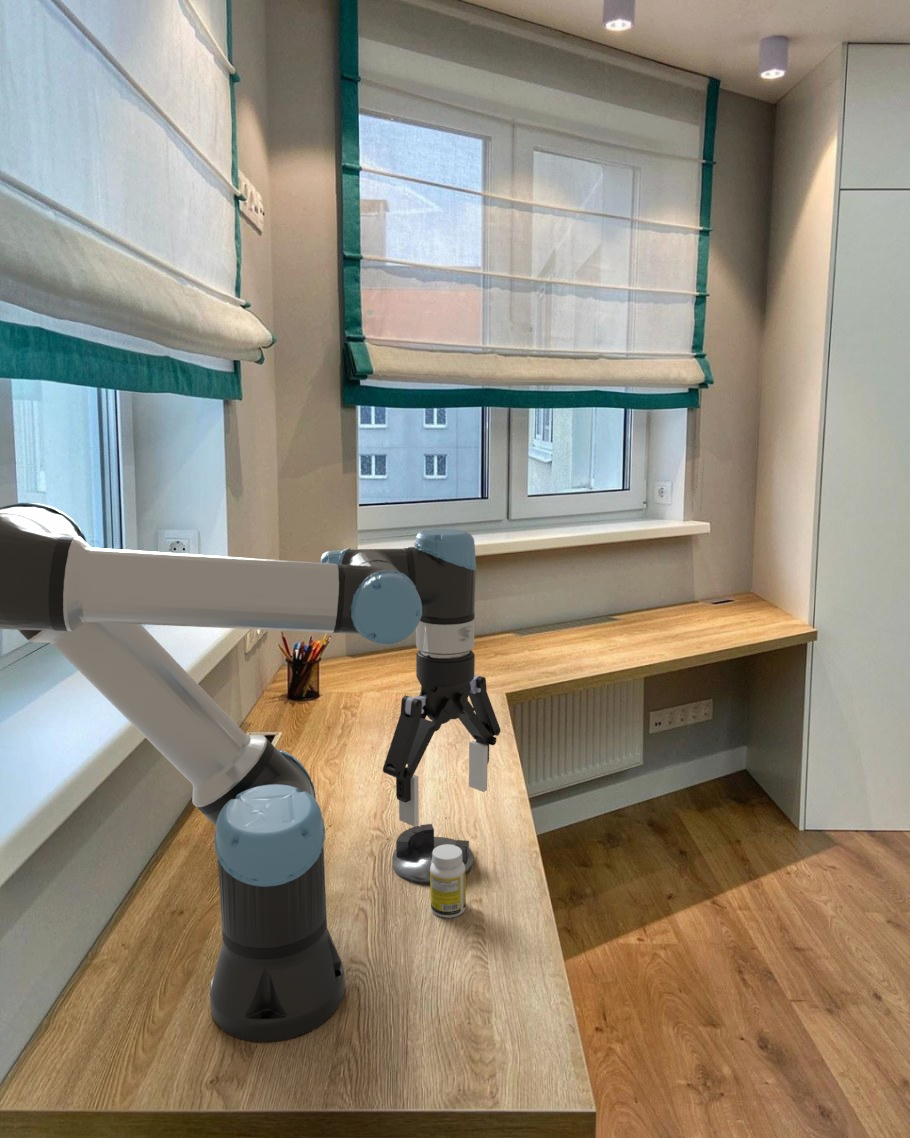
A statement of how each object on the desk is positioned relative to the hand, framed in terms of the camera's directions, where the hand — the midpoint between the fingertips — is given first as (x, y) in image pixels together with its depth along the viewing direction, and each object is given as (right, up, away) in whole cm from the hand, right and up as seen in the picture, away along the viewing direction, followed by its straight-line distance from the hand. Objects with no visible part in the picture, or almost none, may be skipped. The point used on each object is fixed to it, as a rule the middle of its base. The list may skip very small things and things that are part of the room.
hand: (444, 805), depth 115 cm
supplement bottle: (0, -15, +2) cm, 15 cm away
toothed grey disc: (-2, -12, +14) cm, 19 cm away
